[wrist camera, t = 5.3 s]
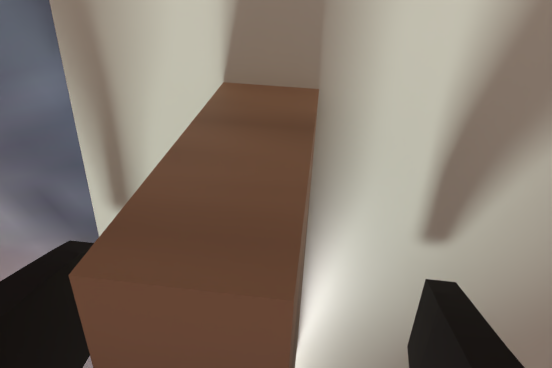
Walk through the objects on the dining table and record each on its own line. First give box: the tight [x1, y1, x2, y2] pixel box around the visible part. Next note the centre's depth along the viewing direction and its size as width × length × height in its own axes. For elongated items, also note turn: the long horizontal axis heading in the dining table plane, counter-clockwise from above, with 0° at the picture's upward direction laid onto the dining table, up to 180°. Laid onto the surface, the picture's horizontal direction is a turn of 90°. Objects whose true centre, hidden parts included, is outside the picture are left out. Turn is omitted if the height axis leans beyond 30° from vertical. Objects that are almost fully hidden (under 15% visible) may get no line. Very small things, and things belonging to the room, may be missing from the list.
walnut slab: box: [69, 82, 319, 368], centre depth 8 cm, size 8×2×6 cm, turn 178°
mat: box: [49, 0, 552, 368], centre depth 11 cm, size 16×14×1 cm
